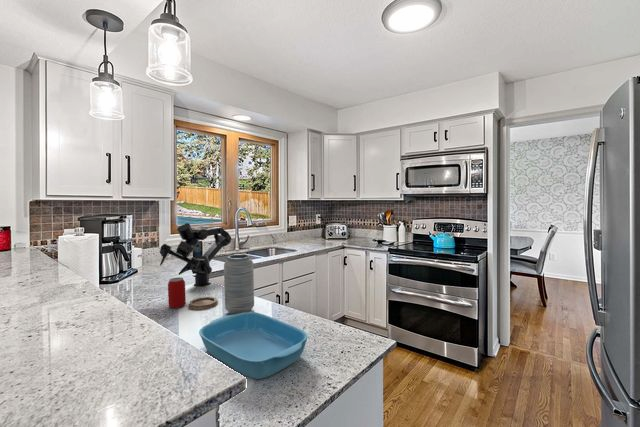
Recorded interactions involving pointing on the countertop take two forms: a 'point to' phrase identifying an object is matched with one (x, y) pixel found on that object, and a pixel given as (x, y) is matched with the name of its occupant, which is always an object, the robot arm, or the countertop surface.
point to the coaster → (203, 303)
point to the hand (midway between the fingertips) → (169, 269)
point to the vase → (239, 284)
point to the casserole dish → (253, 343)
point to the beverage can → (176, 293)
